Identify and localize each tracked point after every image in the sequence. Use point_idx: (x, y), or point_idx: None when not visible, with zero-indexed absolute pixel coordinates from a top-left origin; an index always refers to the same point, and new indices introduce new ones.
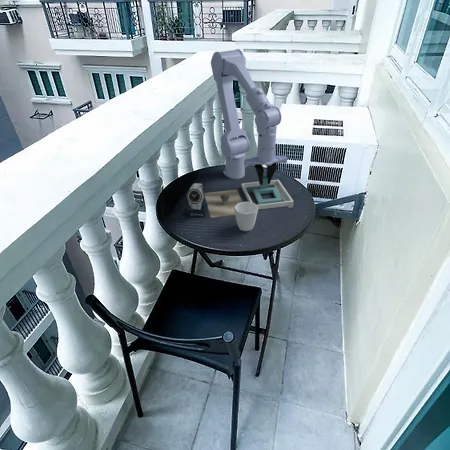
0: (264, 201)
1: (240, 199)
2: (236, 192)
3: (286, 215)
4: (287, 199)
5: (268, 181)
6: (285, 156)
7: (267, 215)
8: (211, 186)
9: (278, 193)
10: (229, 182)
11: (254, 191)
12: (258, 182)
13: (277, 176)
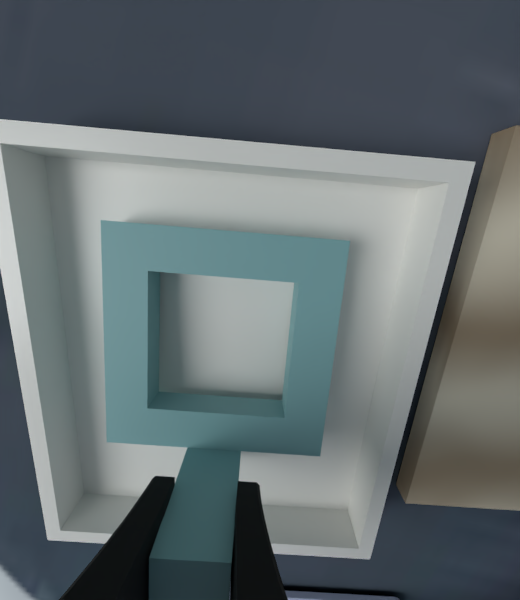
0: (293, 245)
1: (452, 372)
2: (428, 471)
3: (141, 18)
4: (54, 260)
5: (159, 508)
6: None
7: (318, 82)
8: (515, 577)
9: (109, 338)
10: (387, 589)
11: (324, 424)
12: None
13: (57, 580)
